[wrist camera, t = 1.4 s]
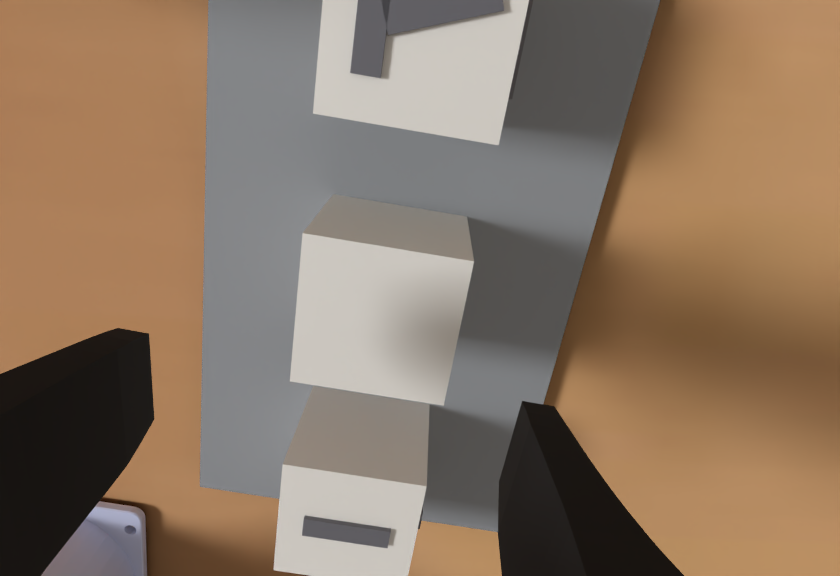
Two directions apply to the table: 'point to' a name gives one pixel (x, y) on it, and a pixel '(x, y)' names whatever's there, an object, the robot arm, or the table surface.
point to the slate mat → (413, 187)
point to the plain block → (381, 299)
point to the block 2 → (353, 486)
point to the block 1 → (421, 63)
